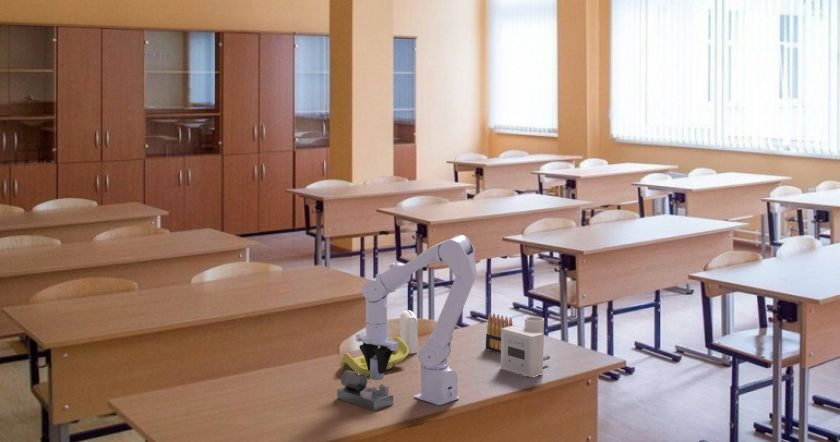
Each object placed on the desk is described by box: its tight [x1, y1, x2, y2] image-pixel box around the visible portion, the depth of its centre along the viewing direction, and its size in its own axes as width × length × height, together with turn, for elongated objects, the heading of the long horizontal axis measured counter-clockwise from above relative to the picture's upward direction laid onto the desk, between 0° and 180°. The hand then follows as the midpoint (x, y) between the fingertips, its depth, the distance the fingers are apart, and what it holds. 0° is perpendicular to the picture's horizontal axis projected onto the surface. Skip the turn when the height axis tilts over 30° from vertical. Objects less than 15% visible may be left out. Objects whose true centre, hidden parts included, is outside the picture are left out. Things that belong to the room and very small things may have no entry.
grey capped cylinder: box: [369, 355, 385, 381], centre depth 268 cm, size 4×4×6 cm
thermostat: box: [500, 316, 551, 378], centre depth 290 cm, size 12×14×15 cm
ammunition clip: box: [485, 312, 513, 354], centre depth 308 cm, size 11×2×12 cm, turn 42°
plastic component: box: [339, 336, 409, 377], centre depth 291 cm, size 20×7×10 cm
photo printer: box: [399, 309, 419, 355], centre depth 310 cm, size 10×4×12 cm, turn 13°
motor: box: [336, 369, 394, 411], centre depth 260 cm, size 15×7×7 cm, turn 46°
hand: (376, 371), depth 268 cm, fingers closed on grey capped cylinder, 4 cm apart
